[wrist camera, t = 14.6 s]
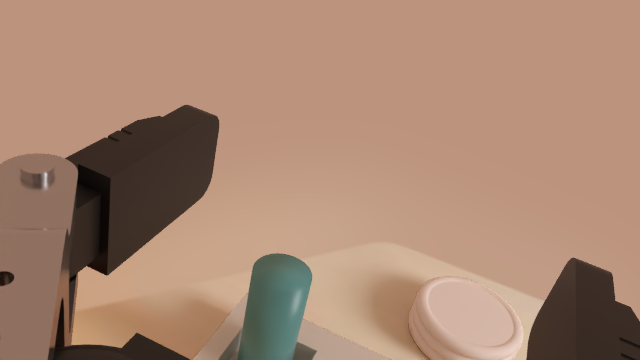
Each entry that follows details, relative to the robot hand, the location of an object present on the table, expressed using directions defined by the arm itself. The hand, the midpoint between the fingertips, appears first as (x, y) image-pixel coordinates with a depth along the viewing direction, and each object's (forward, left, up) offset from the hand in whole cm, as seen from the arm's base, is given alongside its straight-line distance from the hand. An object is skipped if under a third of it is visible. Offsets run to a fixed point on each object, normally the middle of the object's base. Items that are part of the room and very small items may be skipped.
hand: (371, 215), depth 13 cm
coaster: (-7, -33, -31) cm, 46 cm away
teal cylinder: (+7, -18, -29) cm, 35 cm away
